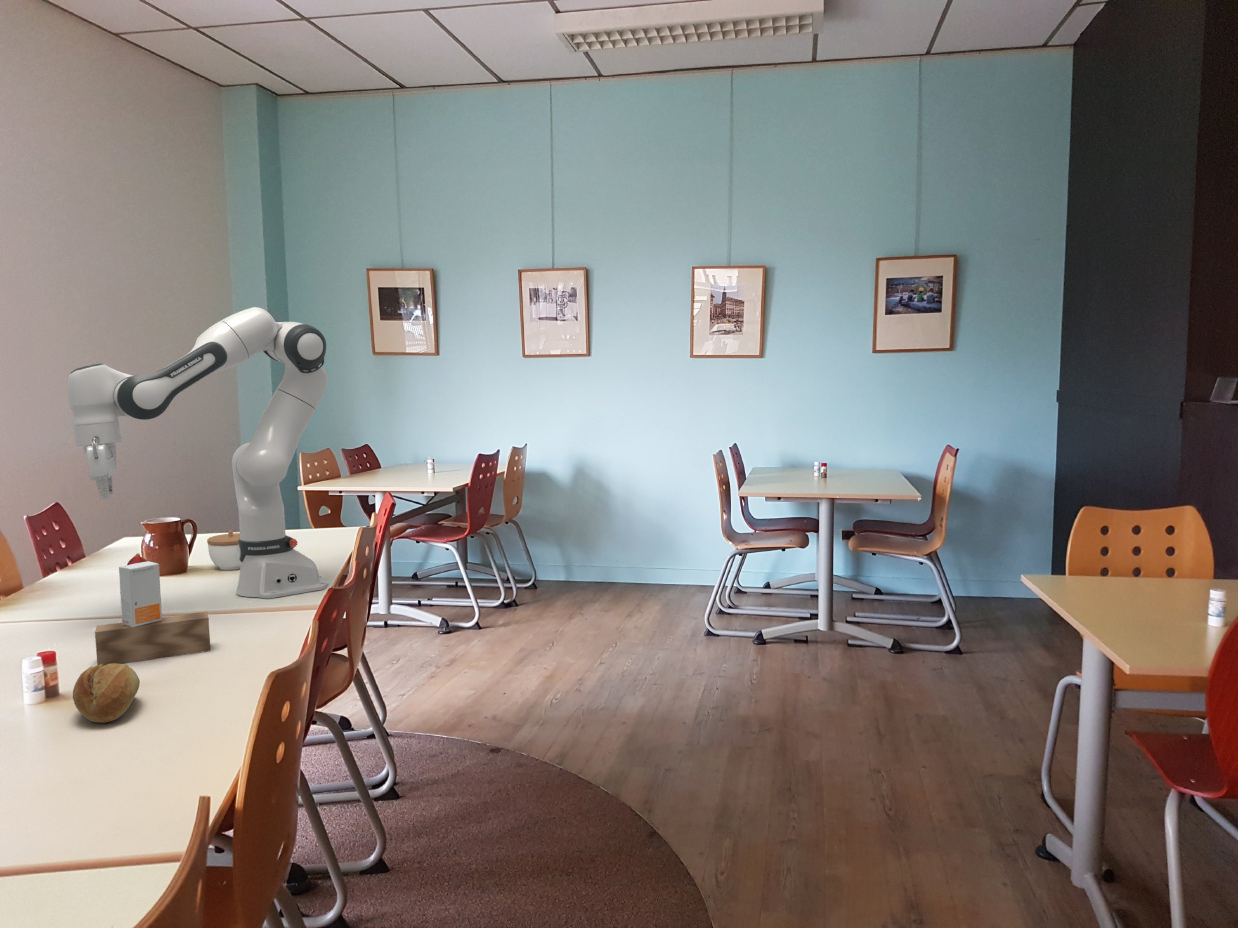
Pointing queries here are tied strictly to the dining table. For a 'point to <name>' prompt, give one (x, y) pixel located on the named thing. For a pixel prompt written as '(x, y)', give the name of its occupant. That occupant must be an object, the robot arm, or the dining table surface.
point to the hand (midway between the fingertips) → (107, 496)
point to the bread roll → (105, 691)
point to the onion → (136, 559)
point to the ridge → (152, 639)
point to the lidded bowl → (225, 550)
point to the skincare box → (140, 594)
